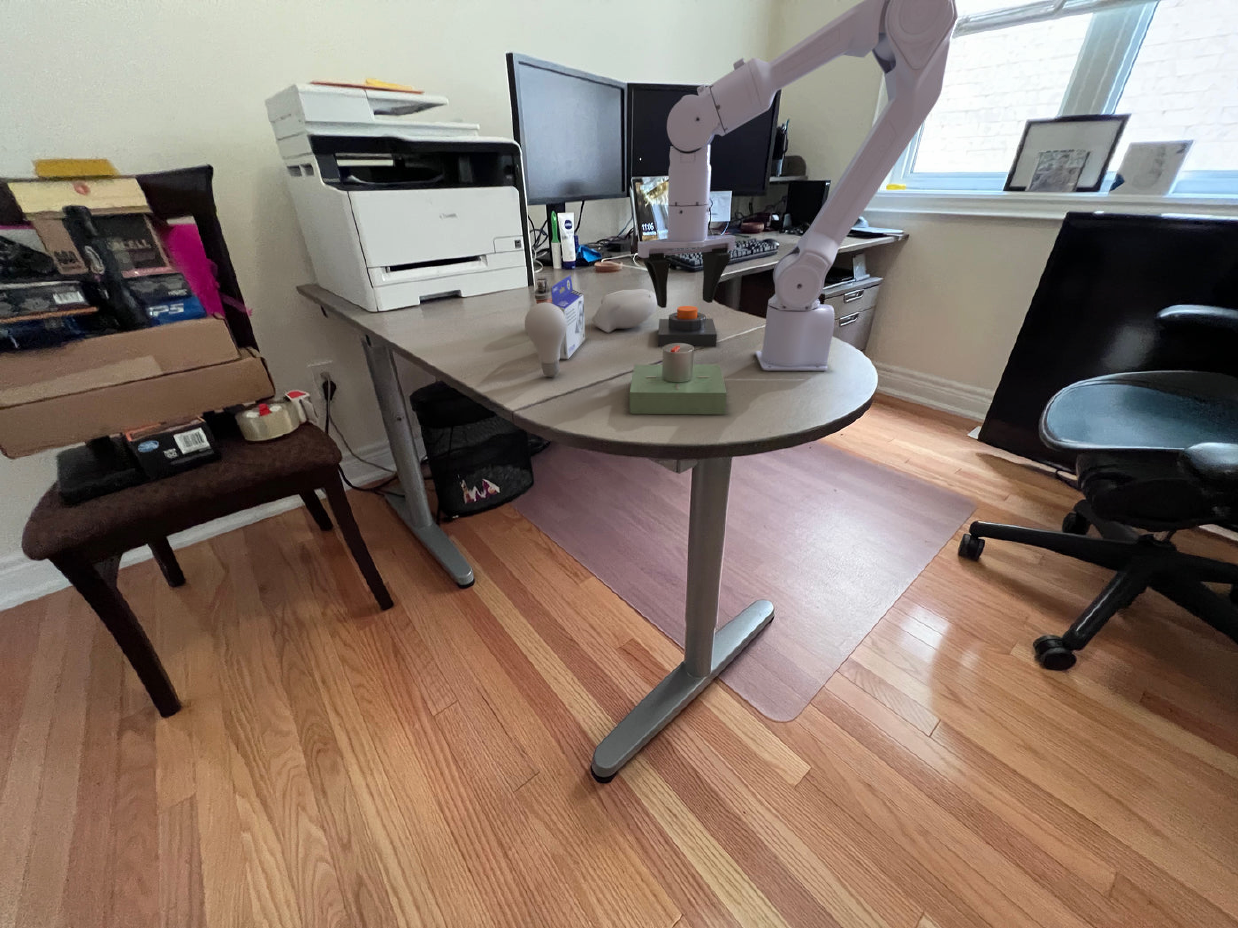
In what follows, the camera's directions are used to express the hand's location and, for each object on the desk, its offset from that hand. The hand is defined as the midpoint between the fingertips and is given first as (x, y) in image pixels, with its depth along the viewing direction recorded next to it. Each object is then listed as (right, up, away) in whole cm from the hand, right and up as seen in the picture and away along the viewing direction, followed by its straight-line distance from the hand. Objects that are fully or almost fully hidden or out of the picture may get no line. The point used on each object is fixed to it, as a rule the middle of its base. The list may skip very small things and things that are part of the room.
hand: (684, 304), depth 76 cm
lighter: (-24, +2, +21) cm, 32 cm away
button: (+2, +1, +12) cm, 12 cm away
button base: (+2, -2, +14) cm, 14 cm away
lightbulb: (-21, -12, -1) cm, 24 cm away
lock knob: (-2, -13, -11) cm, 17 cm away
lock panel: (-2, -16, -9) cm, 18 cm away
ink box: (-18, -5, +10) cm, 22 cm away
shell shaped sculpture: (-9, +3, +22) cm, 24 cm away
